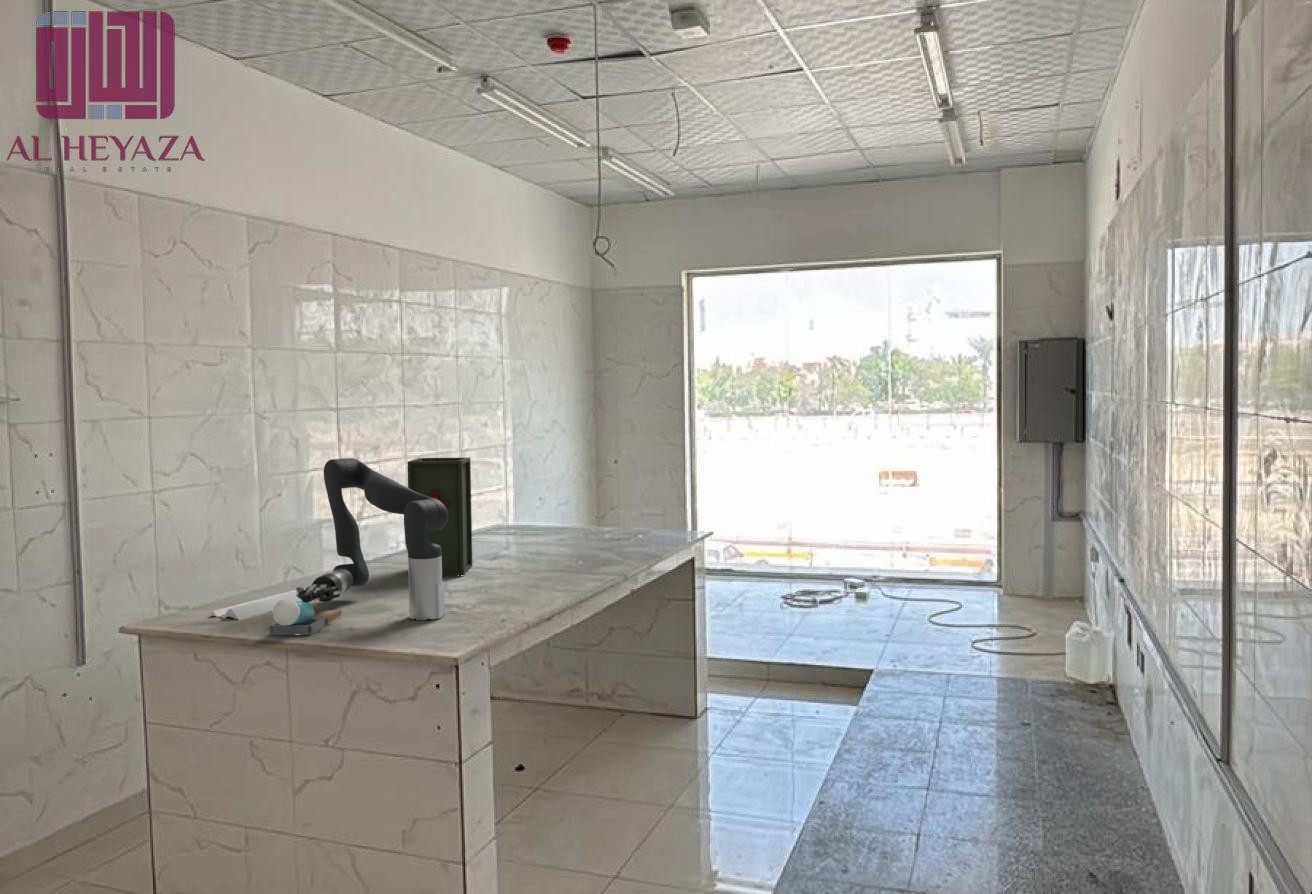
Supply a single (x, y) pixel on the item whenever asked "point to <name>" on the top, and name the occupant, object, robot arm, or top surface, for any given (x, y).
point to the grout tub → (293, 612)
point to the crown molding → (255, 606)
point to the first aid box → (448, 507)
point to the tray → (297, 628)
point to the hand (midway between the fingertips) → (305, 598)
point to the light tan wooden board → (329, 616)
